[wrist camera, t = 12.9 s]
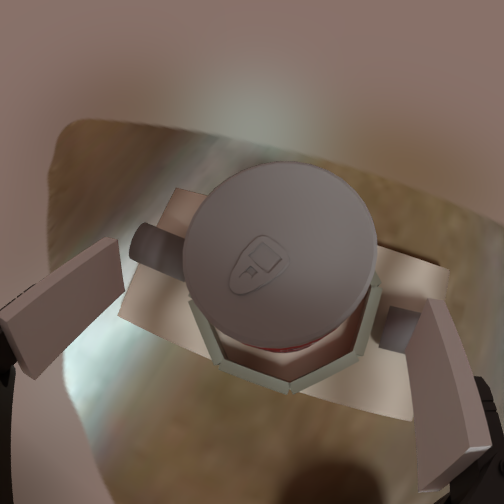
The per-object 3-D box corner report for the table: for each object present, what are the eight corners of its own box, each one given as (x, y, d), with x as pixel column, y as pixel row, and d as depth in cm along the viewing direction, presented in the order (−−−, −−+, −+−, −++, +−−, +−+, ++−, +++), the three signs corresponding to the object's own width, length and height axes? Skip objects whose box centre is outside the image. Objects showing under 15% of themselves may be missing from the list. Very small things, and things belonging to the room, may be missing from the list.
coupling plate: (444, 270, 22) (471, 251, 18) (404, 422, 19) (428, 434, 14) (181, 191, 28) (163, 162, 23) (123, 321, 24) (91, 311, 20)
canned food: (212, 323, 22) (145, 288, 12) (264, 230, 24) (243, 136, 14) (307, 373, 20) (323, 386, 10) (356, 273, 22) (403, 200, 12)
